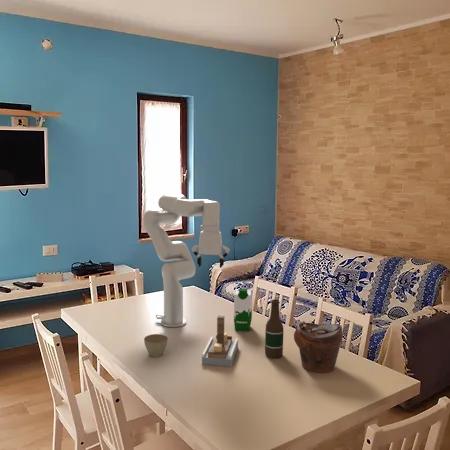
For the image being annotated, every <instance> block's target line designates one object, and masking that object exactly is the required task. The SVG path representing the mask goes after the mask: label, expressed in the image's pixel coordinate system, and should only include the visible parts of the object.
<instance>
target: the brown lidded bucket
mask: <svg viewBox="0 0 450 450" xmlns="http://www.w3.org/2000/svg"><path fill="white" fill-rule="evenodd" d="M343 336H344V334H343V326H342V325H341V324H340V323H327V324H324V323H323V324H322V323H321V324H318V323H311V322H300V323H298V324H297V325H296V328H295V331H294V333H293V340H294V342H295V344H296V346H297V347H298V350H299V356H300V362H301V366H302V367H303V368H304V369H305V370H307V371H310V372H314V373H323V374H324V373H330V372H332V371H334V370H335V368H336V363H337V359H338V356H339V352H340V349H341V344H342V342H343Z"/></svg>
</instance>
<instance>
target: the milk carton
mask: <svg viewBox="0 0 450 450" xmlns="http://www.w3.org/2000/svg"><path fill="white" fill-rule="evenodd" d="M233 300H234V301H233V323H234V324H233V325H234V331H238V332H239V331H240V332H241V331H243V332H250V329H251V324H252V320H253V295H252V291H251V290H248V289H246V288H240V289H238V290H235V293H234V299H233Z"/></svg>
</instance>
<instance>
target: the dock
mask: <svg viewBox="0 0 450 450" xmlns="http://www.w3.org/2000/svg"><path fill="white" fill-rule="evenodd" d="M215 339H216V338H214V336H211V337H210V339H208V342H207V344H206V347H205V348H204V350H203V352H202V353H201V365H205V366H218V367H219V366H220V367H229V368H230V367H232V366H233V363H234V360H235V357H236V354H237V352H238V349H239V339H238V338H235V340H232V342H231V345H230V347H229V350H228V352H227V355H226V357H225V358H214V357H208V351H210V349H211V347H212V345H213V343H214V341H215Z"/></svg>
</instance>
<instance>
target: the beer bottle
mask: <svg viewBox="0 0 450 450" xmlns="http://www.w3.org/2000/svg"><path fill="white" fill-rule="evenodd" d="M270 303H271V307H270V315H269V318H268V320H267V321H266V324H265V331H264V333H265V334H264V337H265V338H264V353H265V357H268V358H270V359H280V358H281V357H283V355H284V354H283V353H284V325H283V322H282V320H281V317H280V300H279V299H272V300H271V301H270Z"/></svg>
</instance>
